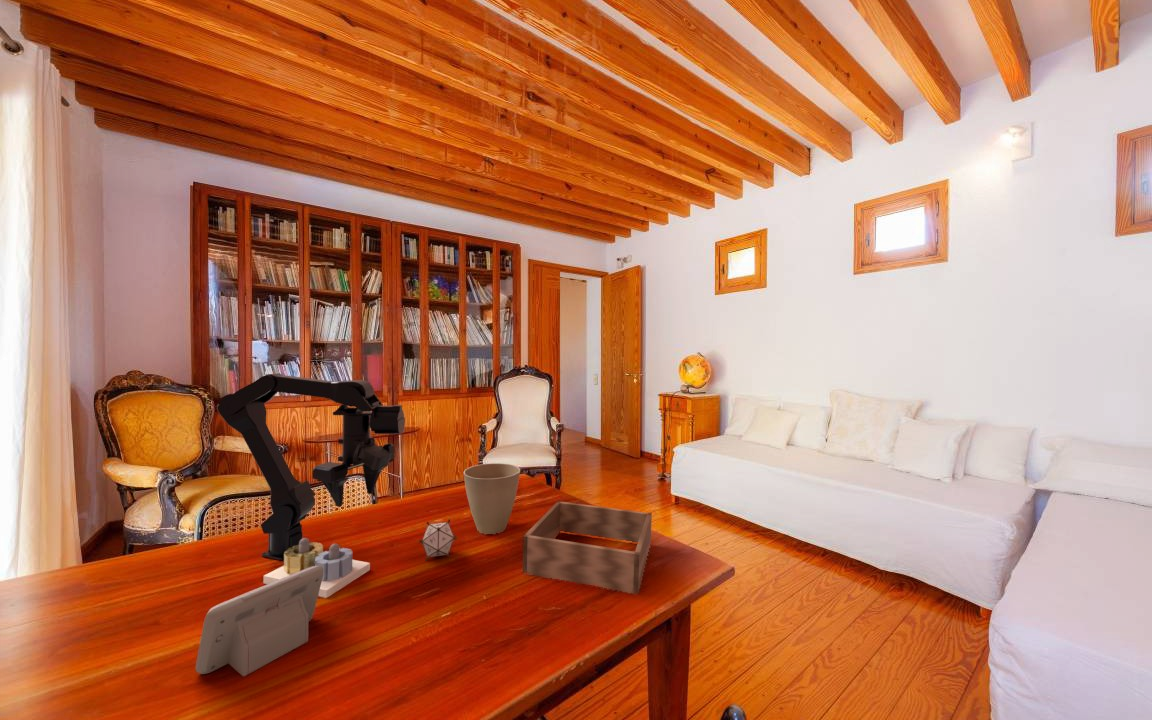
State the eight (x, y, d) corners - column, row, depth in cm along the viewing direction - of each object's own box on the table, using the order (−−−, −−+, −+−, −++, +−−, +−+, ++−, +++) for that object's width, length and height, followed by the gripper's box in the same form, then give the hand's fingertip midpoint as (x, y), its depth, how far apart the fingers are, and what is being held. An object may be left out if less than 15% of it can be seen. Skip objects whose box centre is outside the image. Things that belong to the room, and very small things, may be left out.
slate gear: (307, 577, 84) (307, 560, 84) (334, 562, 90) (334, 546, 90) (333, 583, 82) (333, 565, 82) (359, 567, 88) (359, 551, 88)
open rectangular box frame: (522, 583, 90) (523, 536, 90) (556, 538, 112) (557, 501, 112) (637, 605, 83) (639, 554, 83) (650, 553, 105) (651, 513, 105)
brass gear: (277, 574, 85) (277, 557, 84) (295, 558, 91) (296, 542, 91) (312, 573, 85) (312, 556, 85) (327, 557, 92) (328, 541, 92)
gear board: (263, 583, 84) (263, 546, 84) (312, 558, 95) (312, 525, 94) (326, 598, 80) (326, 559, 79) (369, 569, 90) (370, 535, 90)
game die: (441, 575, 95) (442, 553, 90) (410, 558, 97) (409, 535, 91) (463, 542, 103) (466, 520, 97) (434, 527, 104) (435, 503, 98)
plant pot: (492, 514, 123) (493, 460, 123) (530, 527, 114) (531, 469, 114) (450, 530, 111) (451, 471, 110) (489, 547, 102) (490, 482, 102)
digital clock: (314, 614, 75) (315, 555, 75) (332, 638, 69) (333, 574, 69) (191, 663, 63) (192, 592, 62) (200, 697, 57) (201, 619, 56)
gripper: (352, 444, 87) (351, 519, 87) (411, 429, 105) (410, 491, 105) (310, 440, 90) (309, 512, 90) (375, 426, 108) (374, 486, 108)
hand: (355, 499), depth 98 cm, fingers open, 9 cm apart
